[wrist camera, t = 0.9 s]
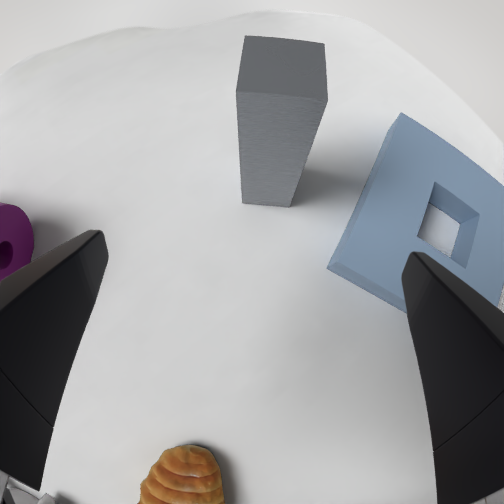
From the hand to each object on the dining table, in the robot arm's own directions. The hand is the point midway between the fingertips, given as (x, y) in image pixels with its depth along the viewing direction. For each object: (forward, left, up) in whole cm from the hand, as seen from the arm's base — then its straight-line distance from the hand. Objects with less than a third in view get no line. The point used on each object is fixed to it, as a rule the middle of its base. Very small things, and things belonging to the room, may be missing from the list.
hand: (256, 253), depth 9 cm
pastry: (-13, +12, -15) cm, 23 cm away
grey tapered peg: (+7, -4, -14) cm, 16 cm away
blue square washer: (-2, -15, -14) cm, 21 cm away
